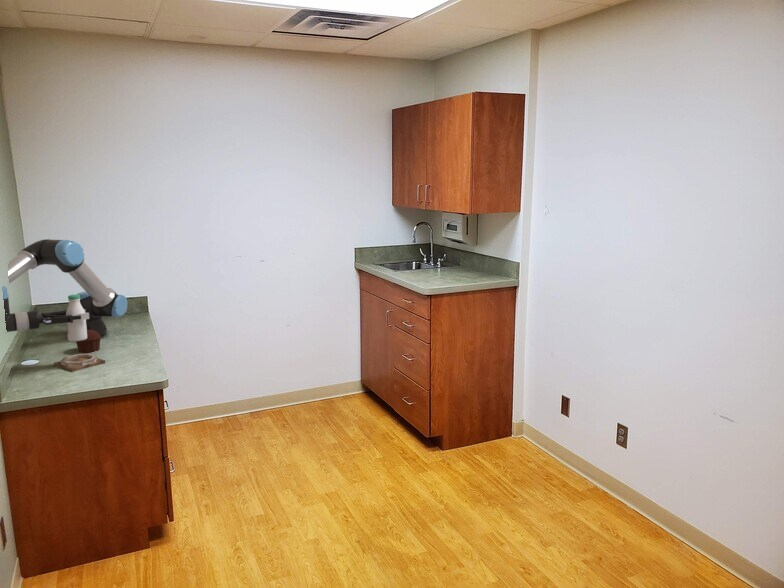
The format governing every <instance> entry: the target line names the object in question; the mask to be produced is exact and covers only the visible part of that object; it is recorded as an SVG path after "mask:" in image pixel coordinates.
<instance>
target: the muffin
mask: <svg viewBox="0 0 784 588" xmlns="http://www.w3.org/2000/svg"><path fill="white" fill-rule="evenodd" d="M101 339H102V336H101V335H100V334H99V333H98V332H96V331H94V330H87V339H85V340H82V341H75V344H76V347H77V350H78V353H80V352H81V353H80V354H89V353H90V354H93V353H92V352H94V353H96V352H95V351H97V352H99V351H100V349H101V348H100V346H101Z"/></svg>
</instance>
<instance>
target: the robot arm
mask: <svg viewBox="0 0 784 588" xmlns="http://www.w3.org/2000/svg"><path fill="white" fill-rule="evenodd" d="M8 262H9V264H8V279H9V283H10V284H11V283H12V282H14V281H15V280H16V279H18V278H19V277H21V276H22V275H24V274H25V273H26V272H28V271H29V270H34V269H36V268H37V267H40V266H43V265H49V266H51V265H52V266H56V267H57V268H58V269H59V270H60V271H61V272H62V273H65V274H66V273H67V274H69V276H70V277H71V278H72V279H73V280H74V281H75V282H76V283H77V284H78V285H79V286H80V287H81V288H82V289H83V291H82V292H77V293H76V295H80V304H81V306H82V307H83V309H84V311H85V313H81V314H72V315H66V311H67V309H64V310H60V311H52V312H41V313H40V314H39V313H38V312H39V311H37V310H34V311H33V310H31V311H28V312H25V311H22V312H13V313H11V310H10V300H9V299H10V298H9V293H8V288H7V286H6V287H5V286H3V287H2V291H3V300H4V309H5V321H6V322H5V323H6V330H7V332H6V333H10V332H11V333H12V332H18V331H19V332H20V333H21V332H23V331H27V330H28V329H29V330H37V329H39V328H40V324H44V325H46V326H49V325H56V324H66V323H68V322H71V323H73V321H76V320H85V319H86V327H87V330H94V331H96V332H98V333H99V334H100V335H101V337H102V335H103V336H105V335H108V328H107V326H106V324H105V322H104V320H103V317H105V318H106V317H107V318H121V317H123V316H124V314H125V313H126V312H127V309H128V304H129V303H128V299H127V297H126V296H125V295H123V294H118V293H117V291H115V290H114V289H113V288H110V287H107V286H106V284H104V283H103V281H102V280H101V279H100V278H99V277H98V276H97V275H96V273H95V272H94V271H93V270H92V269H91V268H90V267H89V266H88V265H87V264H86V262H85V253H84V247H82V245H81V244H80V243H79V242H77V241H74V240H69V239H50V238H48V239H40V240H37V241H35V242H33V243H31V244H29V245H27V246H26V247H24V248H23V249H21V250H20V251H18V252H17V255H16V256H15V257H14V258H12V259H10V260H9V261H8ZM6 313H7V314H6Z"/></svg>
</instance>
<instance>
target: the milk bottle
mask: <svg viewBox="0 0 784 588" xmlns="http://www.w3.org/2000/svg"><path fill="white" fill-rule="evenodd" d="M67 299H68V306H67V311H66V315H72V314H81V313H85V311H84V309H83V307H82V306H81V304H80V295H77V294H69V295H68V296H67ZM65 325H66V334H67V335H66V336H67V340H68V341H69V342H76V341H82V340H85V339H87V327H86V319H85V320H76V321H73V323H71V322H68V323H65Z"/></svg>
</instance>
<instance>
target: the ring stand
mask: <svg viewBox="0 0 784 588" xmlns="http://www.w3.org/2000/svg"><path fill="white" fill-rule="evenodd" d="M102 363H103V364H106V360H104V359H102V358H98V355H96V354H93V353H76V354H72V355H71V354H70V355H67V356H64V357H63V358H62V359H61V360H60V361H55V362H53V366H54V365H55V366H54V367H57V366H58V367H57V368H60V367H61V369H63V370H66V371H69V372H77V371H80V370H84V369H88V368H91V367H96V366H99V365H103V364H102Z"/></svg>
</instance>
